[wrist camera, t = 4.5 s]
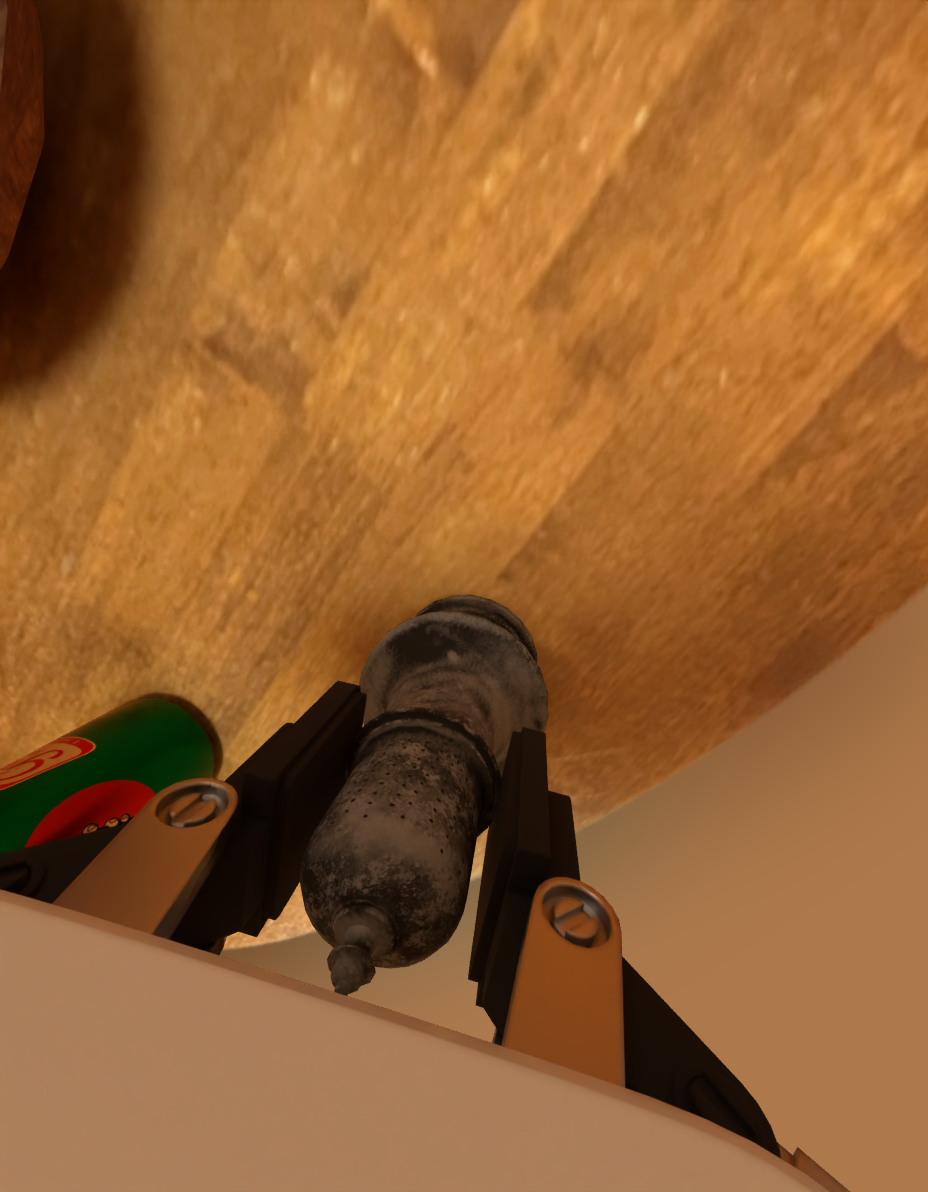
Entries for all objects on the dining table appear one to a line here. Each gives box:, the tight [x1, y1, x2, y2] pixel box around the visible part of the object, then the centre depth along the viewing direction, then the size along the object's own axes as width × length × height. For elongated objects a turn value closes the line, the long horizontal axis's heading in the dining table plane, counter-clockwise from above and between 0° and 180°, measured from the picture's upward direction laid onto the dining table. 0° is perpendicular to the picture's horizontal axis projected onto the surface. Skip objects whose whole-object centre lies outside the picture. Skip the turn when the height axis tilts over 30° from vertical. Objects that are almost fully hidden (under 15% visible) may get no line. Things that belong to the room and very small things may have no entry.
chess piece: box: [299, 595, 548, 996], centre depth 12 cm, size 6×6×12 cm
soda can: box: [0, 698, 214, 854], centre depth 15 cm, size 5×5×12 cm
